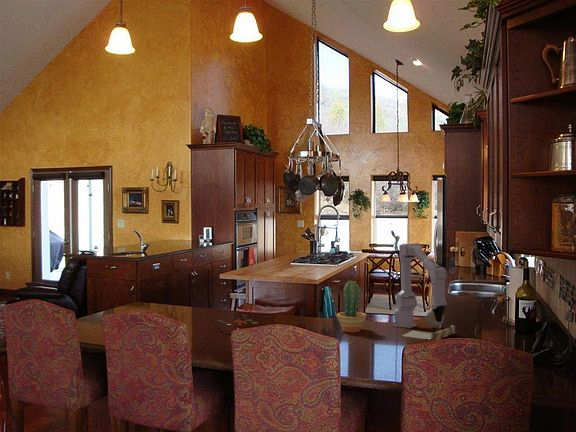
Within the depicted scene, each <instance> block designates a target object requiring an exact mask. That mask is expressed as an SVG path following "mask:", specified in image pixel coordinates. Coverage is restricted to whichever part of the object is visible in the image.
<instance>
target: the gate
mask: <svg viewBox="0 0 576 432" xmlns="http://www.w3.org/2000/svg"><path fill="white" fill-rule="evenodd" d="M451 334H453V327H451V326H450V327H447V328H444V329H440V330H438V331H436V332H432V333H431V340H435V339H438V340H440V339H443V338H442V337H444V338H446V337H449V336H452V335H451ZM448 335H449V336H448ZM431 340H430V341H431ZM435 341H436V340H435Z"/></svg>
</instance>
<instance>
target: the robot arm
mask: <svg viewBox="0 0 576 432" xmlns="http://www.w3.org/2000/svg"><path fill="white" fill-rule="evenodd" d="M398 249H399V259H400V285H401V286H400V289H401V290H400V291H399V292H398V293H396V299H395V306H396V308H395V309H394V314H393V315H394V317H393V318H394V321H393V322H394V323H393V327H398V328H399V327H400V328H408V329H411V328H414V327H417V324H415V323H414V322H415V321H414V310H415V308H417V305H418V301H417V297H416V293H415V292H413V291H412V261H413V259H415V258H417V259H418V260H419V261H420V262H421V263H422V266H423V268H424V270H426V272H428V274H429V278H430V283H431V284H432V285H431V286H432V288H431V289H432V291H431V292H432V295H431V299H432V302H431V304H430V310H433V312H434V315H435V316H434V318H435V321H436V322H441V321H442V317H443V315H444V313H445V310H446V308H447V307H446V306H447V305H448V302H447V301H446V297H445V296H446V290H445V288H446V287H445V285H446V283H445V281H446V279H447V278H448V271H447V269H446V268H445V267H444V266H440V265H439V263H437V262H436V261H435V259H434V258H431V257H430V258H429V257H428V256H427V255H426V252H424V251H423V247H422V245H421V244H420V243H419V242H416V243H402V244H401V245H400V246H399V247H398Z"/></svg>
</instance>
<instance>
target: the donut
mask: <svg viewBox="0 0 576 432" xmlns="http://www.w3.org/2000/svg"><path fill="white" fill-rule="evenodd" d="M444 317H445V315H444V314H443V317H442V321H441V322H436V320H434V318H435V315H434V312H433V310H432V309H430V310H429V311H428V312H427V314H426V323H427V326H429V327H430V328H432V329H436V328H440V327H441V326H442V325H443V324H444V322H445V321H444V320H445V318H444Z"/></svg>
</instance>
